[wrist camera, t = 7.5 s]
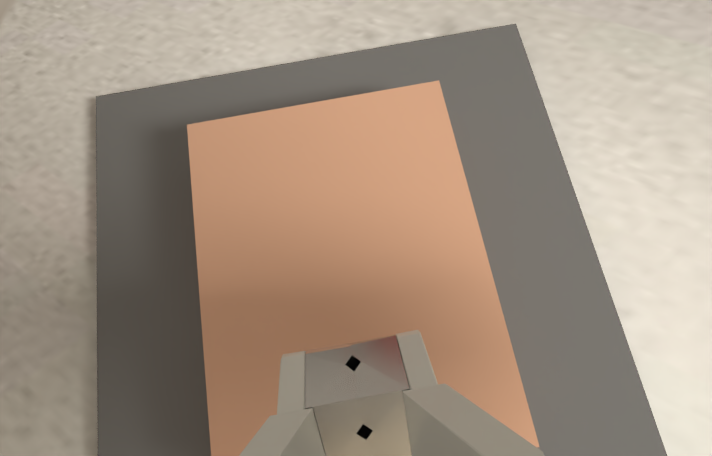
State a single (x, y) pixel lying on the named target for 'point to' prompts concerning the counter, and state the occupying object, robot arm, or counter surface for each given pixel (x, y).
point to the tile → (341, 251)
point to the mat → (491, 204)
